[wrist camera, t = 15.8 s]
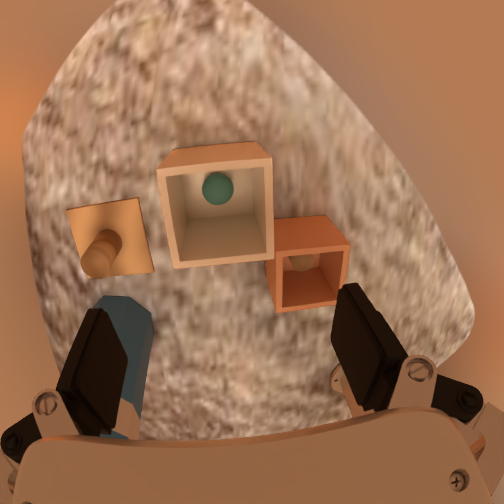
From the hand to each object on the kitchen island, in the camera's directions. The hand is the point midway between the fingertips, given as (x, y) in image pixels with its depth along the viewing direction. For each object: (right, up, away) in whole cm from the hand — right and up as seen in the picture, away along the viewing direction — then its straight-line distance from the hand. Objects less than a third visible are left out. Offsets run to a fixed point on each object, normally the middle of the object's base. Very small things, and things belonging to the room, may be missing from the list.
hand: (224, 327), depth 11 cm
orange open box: (+6, +4, +22) cm, 23 cm away
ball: (-2, +9, +17) cm, 20 cm away
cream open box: (-2, +10, +18) cm, 20 cm away
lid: (-15, +4, +19) cm, 25 cm away
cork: (+6, +3, +22) cm, 23 cm away
